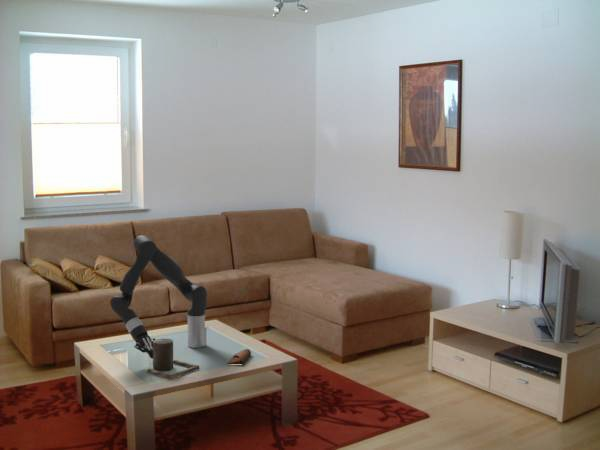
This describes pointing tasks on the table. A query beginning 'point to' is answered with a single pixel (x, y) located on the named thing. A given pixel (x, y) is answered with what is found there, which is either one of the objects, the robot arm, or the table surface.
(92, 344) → the table surface
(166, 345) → the pillar candle
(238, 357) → the sunglasses case
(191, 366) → the wooden u-shaped frame
